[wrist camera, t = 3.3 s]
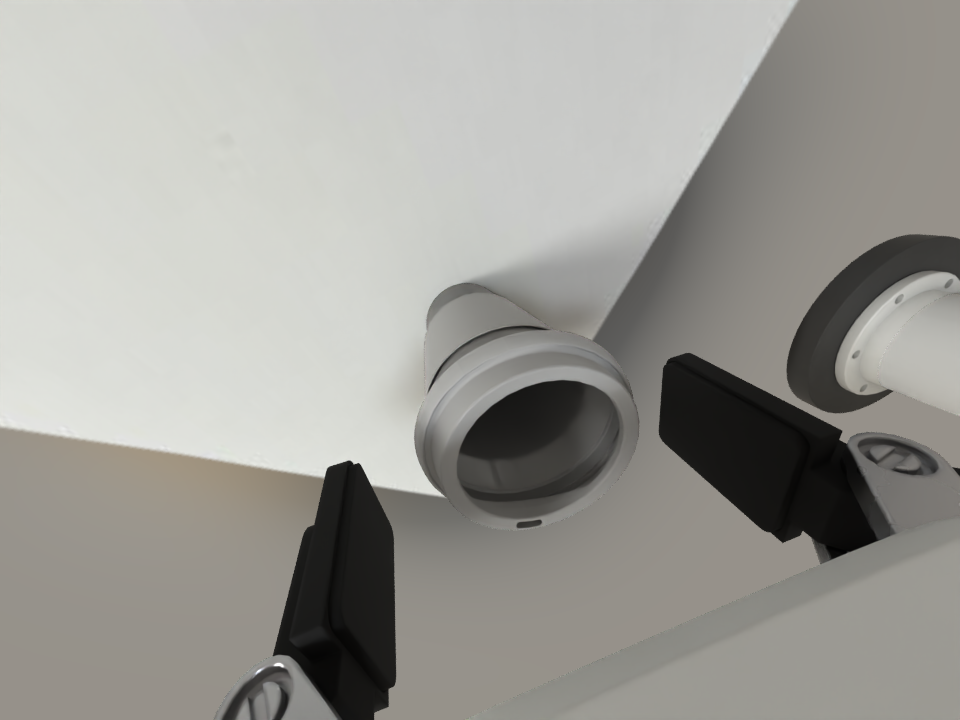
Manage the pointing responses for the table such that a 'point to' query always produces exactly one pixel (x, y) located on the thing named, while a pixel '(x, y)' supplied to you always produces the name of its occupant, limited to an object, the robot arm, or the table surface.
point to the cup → (518, 413)
